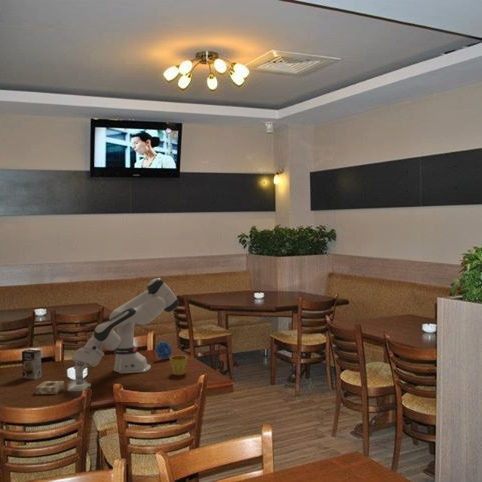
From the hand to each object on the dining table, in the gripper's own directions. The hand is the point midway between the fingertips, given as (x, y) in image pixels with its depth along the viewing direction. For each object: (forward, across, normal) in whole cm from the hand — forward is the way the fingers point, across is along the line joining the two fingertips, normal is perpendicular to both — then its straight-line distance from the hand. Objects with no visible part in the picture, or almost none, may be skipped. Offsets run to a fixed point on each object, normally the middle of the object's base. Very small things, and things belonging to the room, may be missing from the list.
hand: (78, 370), depth 322 cm
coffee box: (+10, -41, +4) cm, 43 cm away
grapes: (-42, -7, +57) cm, 71 cm away
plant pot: (-30, +24, +45) cm, 59 cm away
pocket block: (+15, -10, -1) cm, 18 cm away
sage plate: (+7, 0, +8) cm, 10 cm away
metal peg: (+5, 0, +6) cm, 8 cm away
